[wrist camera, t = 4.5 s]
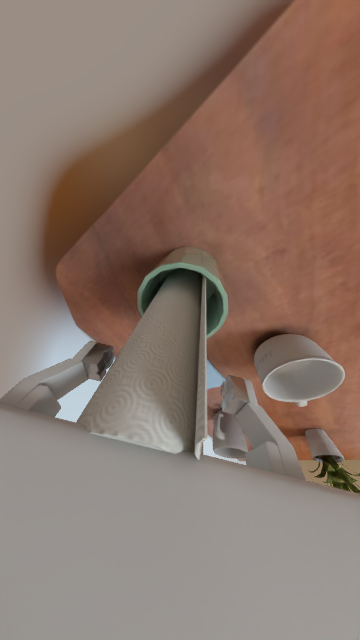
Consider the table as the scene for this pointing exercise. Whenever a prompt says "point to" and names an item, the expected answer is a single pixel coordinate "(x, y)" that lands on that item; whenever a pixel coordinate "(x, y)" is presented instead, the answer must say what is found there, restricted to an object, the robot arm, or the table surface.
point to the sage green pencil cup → (203, 266)
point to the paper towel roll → (159, 374)
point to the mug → (228, 436)
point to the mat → (213, 376)
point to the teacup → (296, 369)
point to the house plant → (329, 460)
